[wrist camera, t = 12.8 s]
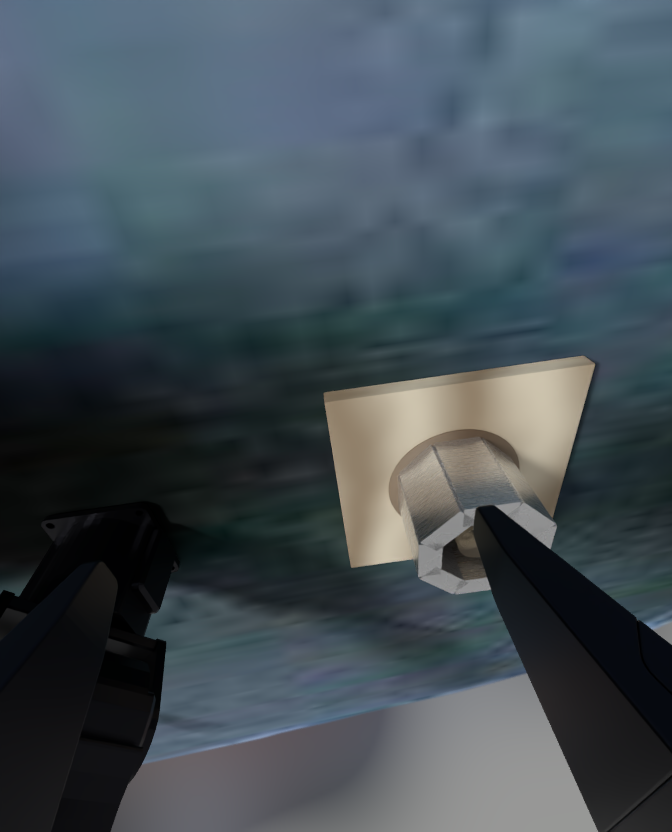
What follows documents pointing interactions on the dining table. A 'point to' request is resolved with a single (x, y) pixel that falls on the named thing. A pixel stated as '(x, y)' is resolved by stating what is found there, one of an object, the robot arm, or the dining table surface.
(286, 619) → the dining table surface
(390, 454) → the birch base board
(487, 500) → the aluminium ring
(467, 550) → the bronze post
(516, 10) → the dining table surface
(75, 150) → the dining table surface
